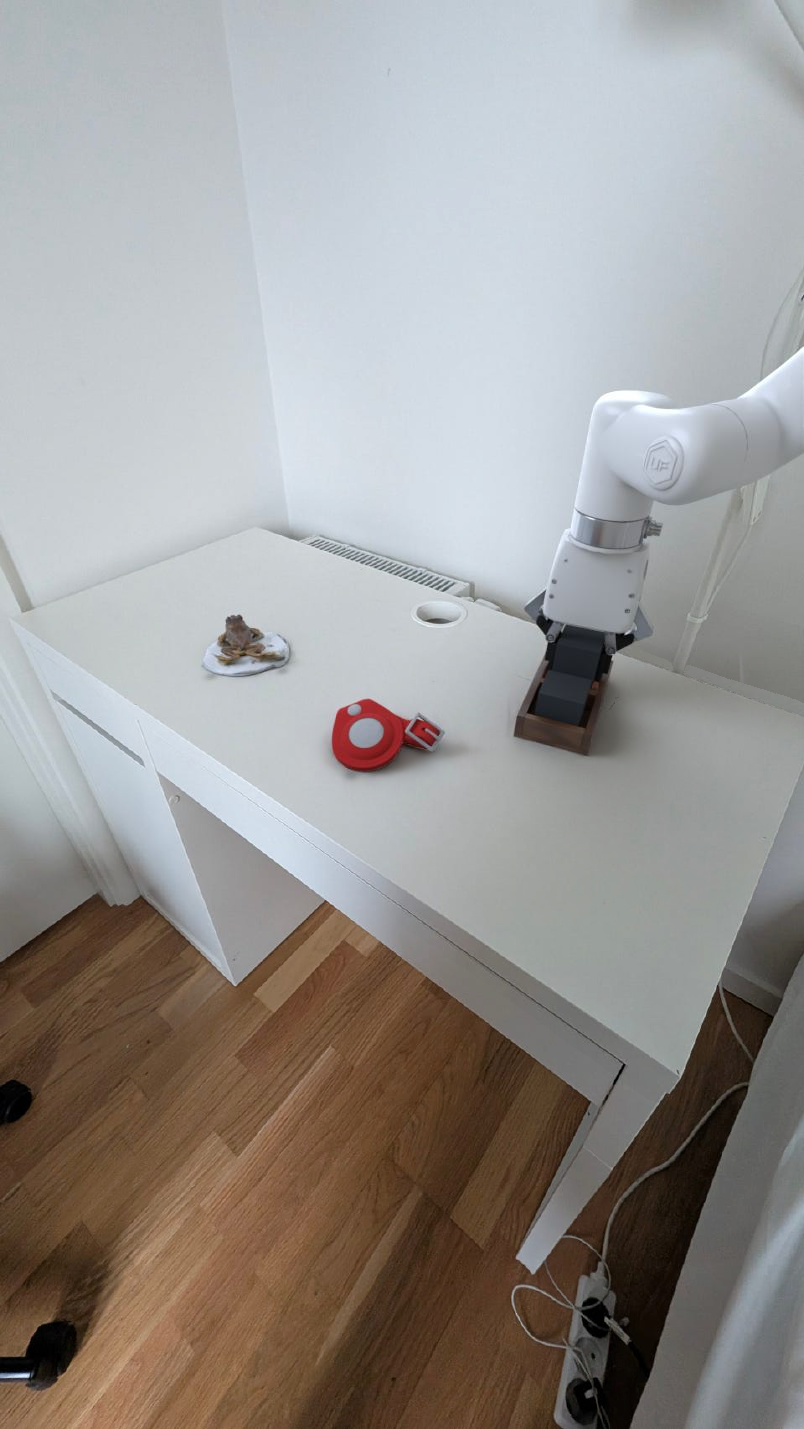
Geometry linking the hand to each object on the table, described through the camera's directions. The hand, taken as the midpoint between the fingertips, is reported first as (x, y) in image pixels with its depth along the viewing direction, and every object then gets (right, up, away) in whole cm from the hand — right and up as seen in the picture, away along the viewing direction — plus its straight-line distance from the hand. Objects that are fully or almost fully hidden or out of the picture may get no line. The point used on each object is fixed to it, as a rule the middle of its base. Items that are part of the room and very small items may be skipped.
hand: (575, 669), depth 72 cm
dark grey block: (0, 0, 0) cm, 0 cm away
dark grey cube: (-3, -6, -4) cm, 8 cm away
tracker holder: (-24, -10, -7) cm, 26 cm away
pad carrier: (-2, -5, -1) cm, 5 cm away
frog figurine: (-43, +3, +9) cm, 44 cm away
